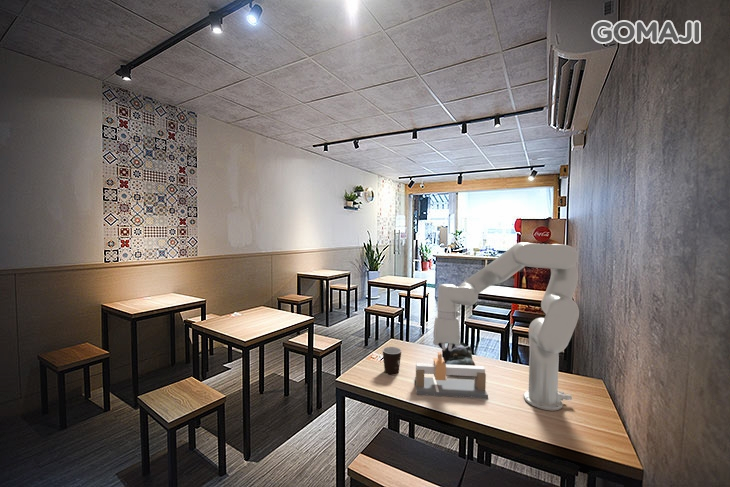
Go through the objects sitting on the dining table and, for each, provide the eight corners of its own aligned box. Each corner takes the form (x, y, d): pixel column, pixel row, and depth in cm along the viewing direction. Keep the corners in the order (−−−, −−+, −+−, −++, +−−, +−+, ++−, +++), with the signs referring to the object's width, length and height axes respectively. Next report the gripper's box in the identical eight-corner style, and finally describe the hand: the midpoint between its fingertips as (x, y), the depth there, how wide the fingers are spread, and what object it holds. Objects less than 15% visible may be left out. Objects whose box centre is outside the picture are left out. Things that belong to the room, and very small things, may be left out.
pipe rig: (479, 383, 131) (479, 361, 131) (488, 398, 119) (488, 374, 119) (415, 380, 134) (415, 358, 133) (417, 394, 122) (417, 370, 121)
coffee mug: (390, 378, 136) (391, 355, 135) (378, 370, 143) (378, 349, 142) (409, 371, 143) (410, 349, 142) (397, 364, 149) (397, 344, 149)
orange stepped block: (443, 373, 130) (443, 350, 129) (445, 380, 123) (446, 356, 123) (433, 372, 130) (433, 350, 130) (435, 379, 124) (435, 356, 123)
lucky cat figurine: (439, 374, 140) (435, 342, 146) (448, 375, 149) (445, 345, 155) (472, 372, 132) (467, 338, 139) (480, 373, 141) (475, 342, 148)
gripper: (463, 313, 129) (462, 356, 129) (427, 311, 130) (426, 354, 131) (468, 318, 121) (467, 364, 122) (429, 316, 123) (428, 362, 123)
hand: (446, 359), depth 126 cm, fingers closed
